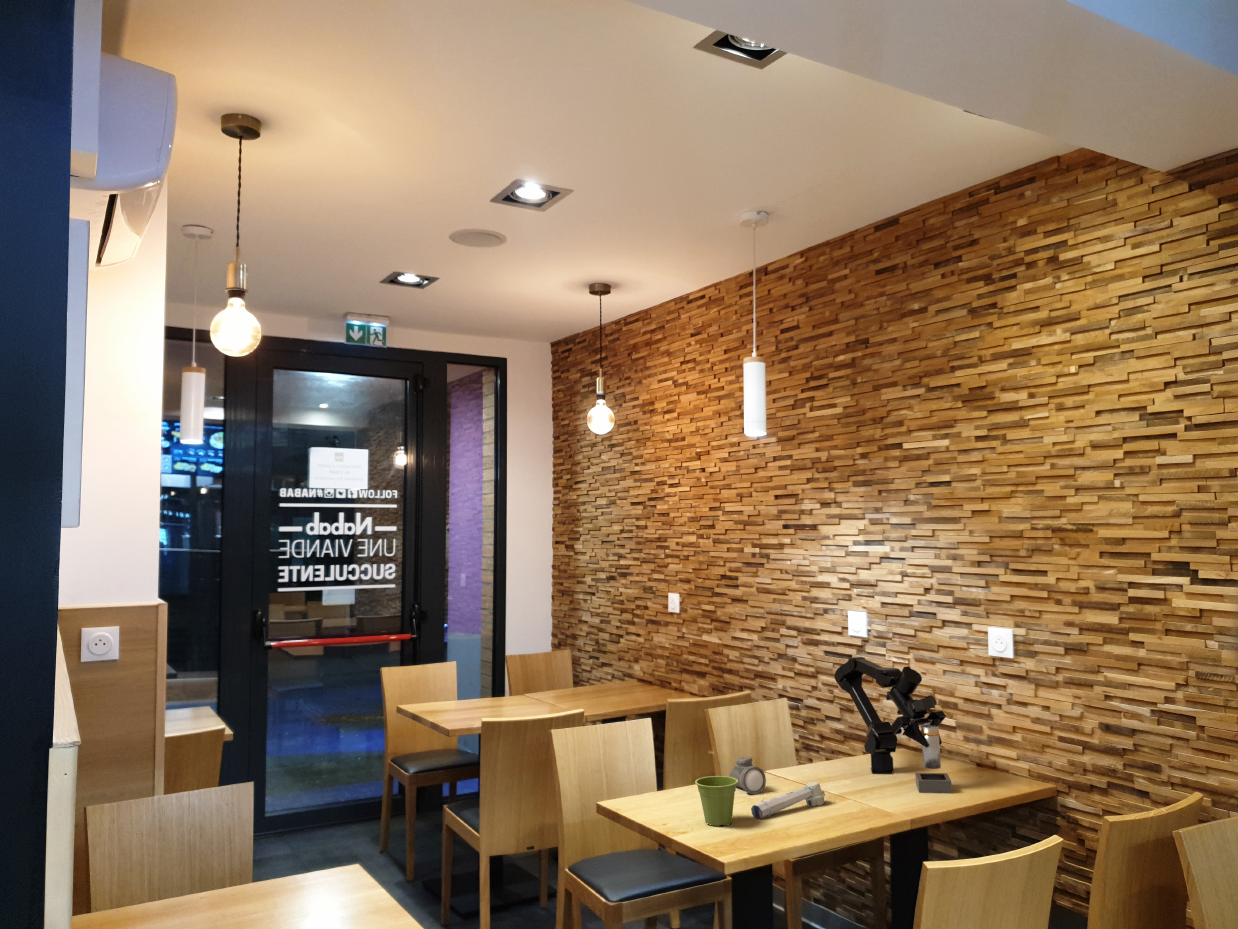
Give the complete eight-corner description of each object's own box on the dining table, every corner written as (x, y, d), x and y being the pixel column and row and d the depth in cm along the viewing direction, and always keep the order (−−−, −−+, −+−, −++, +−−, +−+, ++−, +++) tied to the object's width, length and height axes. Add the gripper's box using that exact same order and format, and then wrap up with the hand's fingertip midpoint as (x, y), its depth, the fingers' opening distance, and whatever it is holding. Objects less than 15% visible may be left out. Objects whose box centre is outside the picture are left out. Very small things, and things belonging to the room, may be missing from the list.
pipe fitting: (769, 791, 280) (763, 756, 282) (746, 797, 277) (740, 762, 279) (750, 786, 291) (744, 753, 293) (728, 792, 288) (722, 758, 290)
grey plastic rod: (748, 803, 257) (813, 775, 271) (752, 827, 257) (816, 797, 271) (761, 807, 253) (826, 778, 267) (764, 831, 253) (830, 801, 267)
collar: (919, 792, 274) (918, 780, 275) (915, 784, 283) (915, 772, 284) (952, 793, 272) (951, 781, 273) (947, 785, 281) (947, 773, 282)
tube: (924, 768, 277) (921, 728, 277) (922, 764, 282) (919, 724, 283) (942, 769, 275) (939, 728, 276) (940, 764, 280) (937, 724, 281)
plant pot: (742, 817, 257) (740, 775, 258) (737, 830, 245) (735, 787, 246) (700, 815, 260) (698, 774, 261) (693, 828, 248) (692, 786, 249)
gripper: (895, 690, 279) (924, 733, 269) (939, 683, 288) (970, 725, 278) (878, 712, 286) (906, 755, 275) (922, 705, 294) (951, 747, 284)
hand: (934, 745), depth 278 cm, fingers closed on tube, 5 cm apart
